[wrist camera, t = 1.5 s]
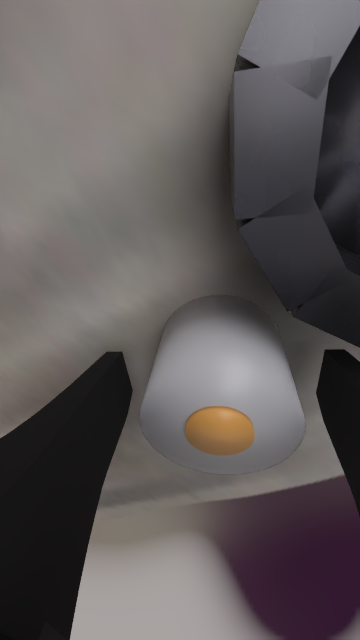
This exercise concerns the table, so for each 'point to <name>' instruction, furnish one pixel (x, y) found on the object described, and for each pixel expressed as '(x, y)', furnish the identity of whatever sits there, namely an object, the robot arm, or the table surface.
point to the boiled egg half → (222, 390)
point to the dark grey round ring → (301, 156)
